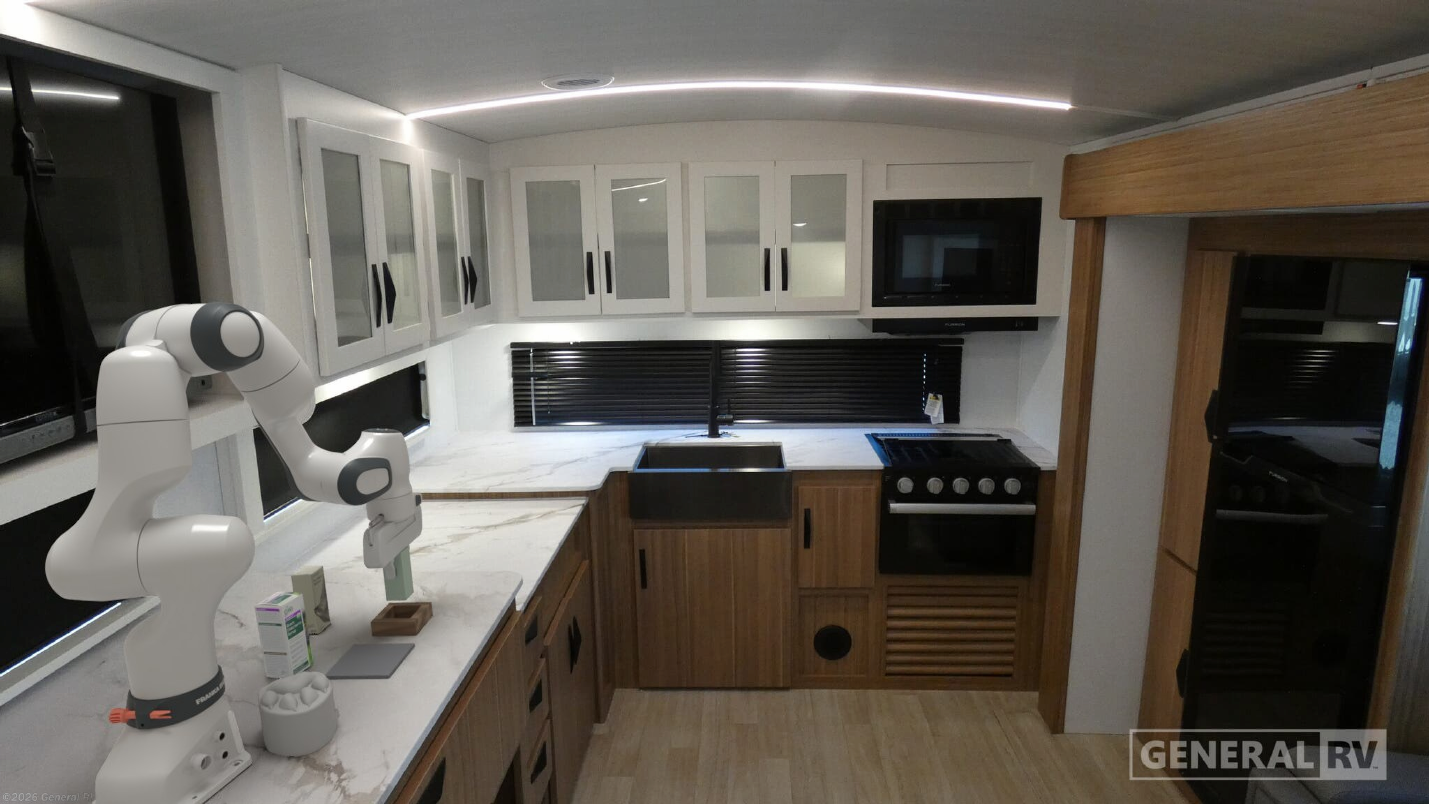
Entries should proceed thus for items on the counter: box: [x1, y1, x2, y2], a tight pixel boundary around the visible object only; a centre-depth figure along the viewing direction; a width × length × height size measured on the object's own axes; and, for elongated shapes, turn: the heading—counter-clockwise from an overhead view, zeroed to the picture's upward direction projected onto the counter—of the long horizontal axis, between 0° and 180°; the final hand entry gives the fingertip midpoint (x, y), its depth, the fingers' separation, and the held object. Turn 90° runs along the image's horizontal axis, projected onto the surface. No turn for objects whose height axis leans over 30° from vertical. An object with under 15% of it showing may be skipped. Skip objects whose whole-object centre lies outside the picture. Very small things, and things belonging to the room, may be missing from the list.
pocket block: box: [370, 601, 434, 637], centre depth 170 cm, size 9×9×3 cm
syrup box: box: [253, 591, 314, 679], centre depth 152 cm, size 6×6×14 cm
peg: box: [382, 546, 415, 602], centre depth 168 cm, size 4×4×10 cm
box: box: [290, 565, 331, 635], centre depth 169 cm, size 5×4×13 cm
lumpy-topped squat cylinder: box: [257, 671, 338, 758], centre depth 132 cm, size 10×13×9 cm
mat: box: [324, 642, 416, 680], centre depth 155 cm, size 12×12×1 cm
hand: (397, 572), depth 168 cm, fingers closed on peg, 4 cm apart
